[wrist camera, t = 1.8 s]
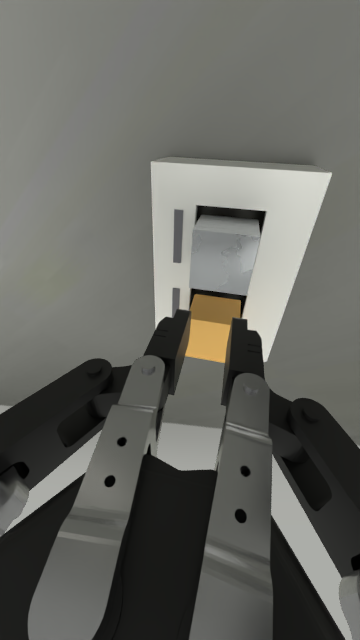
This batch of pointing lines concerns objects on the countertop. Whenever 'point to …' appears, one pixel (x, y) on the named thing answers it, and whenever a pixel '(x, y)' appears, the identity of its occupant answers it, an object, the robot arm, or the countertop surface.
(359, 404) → the countertop surface
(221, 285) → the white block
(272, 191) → the panel
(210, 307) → the tan cardboard-coloured cube
